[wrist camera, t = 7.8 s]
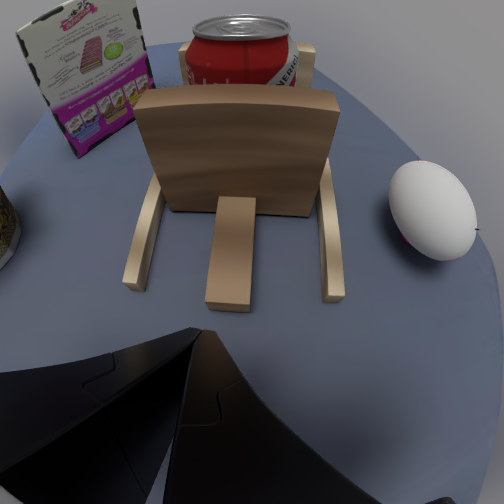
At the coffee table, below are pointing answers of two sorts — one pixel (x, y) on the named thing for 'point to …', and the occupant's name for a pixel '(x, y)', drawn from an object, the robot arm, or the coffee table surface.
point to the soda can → (242, 51)
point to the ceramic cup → (8, 229)
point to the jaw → (237, 164)
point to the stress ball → (432, 210)
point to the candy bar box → (88, 67)
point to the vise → (324, 201)
